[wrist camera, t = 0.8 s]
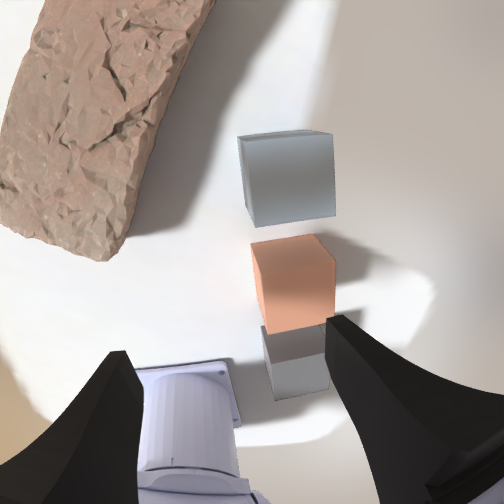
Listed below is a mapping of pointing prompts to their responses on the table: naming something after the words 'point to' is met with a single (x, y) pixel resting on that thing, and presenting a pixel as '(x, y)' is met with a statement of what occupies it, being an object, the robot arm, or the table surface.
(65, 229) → the brick
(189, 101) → the table surface
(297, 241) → the terracotta block
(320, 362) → the gray block
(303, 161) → the slate block
